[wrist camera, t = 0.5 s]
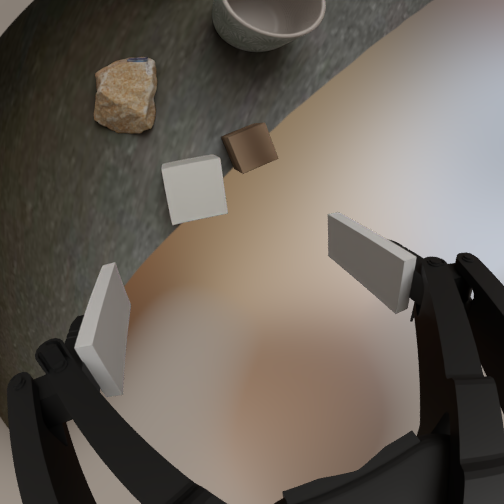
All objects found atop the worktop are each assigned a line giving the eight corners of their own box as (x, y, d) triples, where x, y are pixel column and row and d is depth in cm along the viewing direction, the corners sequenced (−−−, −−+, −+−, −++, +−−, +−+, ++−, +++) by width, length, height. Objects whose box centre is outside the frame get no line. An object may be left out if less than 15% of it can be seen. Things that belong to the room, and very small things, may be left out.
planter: (206, 58, 32) (220, 34, 23) (206, -12, 27) (220, -50, 18) (291, 61, 35) (329, 45, 26) (288, -6, 30) (321, -34, 21)
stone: (160, 59, 31) (159, 51, 27) (153, 132, 35) (151, 132, 31) (100, 63, 29) (93, 55, 25) (94, 135, 33) (85, 136, 29)
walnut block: (234, 168, 40) (243, 173, 36) (220, 136, 38) (228, 137, 33) (266, 155, 40) (278, 158, 36) (253, 123, 38) (265, 122, 34)
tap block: (171, 212, 40) (172, 225, 35) (162, 163, 37) (161, 169, 32) (219, 202, 41) (227, 213, 36) (212, 154, 38) (220, 157, 33)
